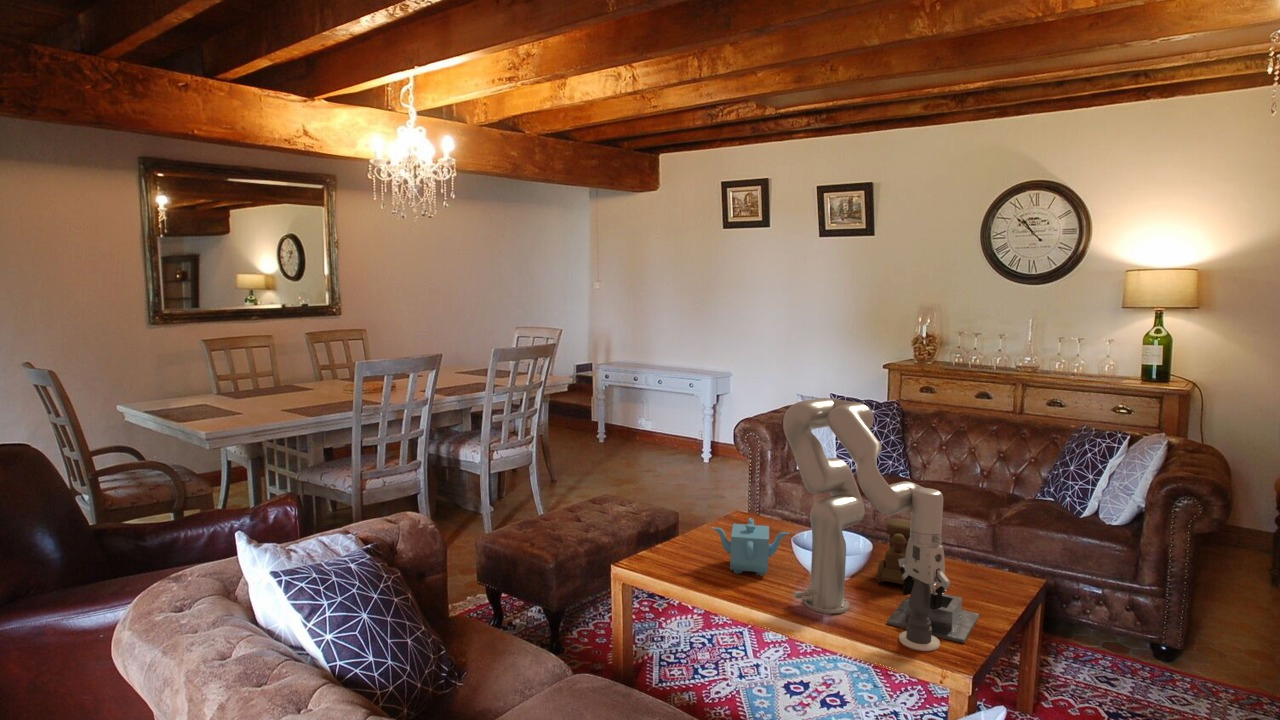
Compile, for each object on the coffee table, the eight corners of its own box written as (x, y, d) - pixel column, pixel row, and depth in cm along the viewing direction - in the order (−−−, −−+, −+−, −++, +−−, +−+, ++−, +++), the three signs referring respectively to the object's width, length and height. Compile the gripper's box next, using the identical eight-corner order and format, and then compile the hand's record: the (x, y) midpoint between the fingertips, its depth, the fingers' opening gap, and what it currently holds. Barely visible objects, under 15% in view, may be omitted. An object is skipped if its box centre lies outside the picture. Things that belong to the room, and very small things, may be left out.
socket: (964, 643, 205) (965, 621, 204) (886, 623, 216) (887, 602, 215) (978, 617, 221) (980, 596, 221) (906, 600, 232) (907, 580, 232)
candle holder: (904, 640, 204) (909, 547, 202) (908, 631, 210) (913, 540, 207) (929, 646, 201) (935, 551, 199) (932, 636, 207) (938, 544, 204)
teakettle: (748, 584, 242) (750, 537, 241) (708, 565, 257) (709, 521, 256) (790, 571, 254) (792, 527, 252) (749, 554, 268) (751, 512, 267)
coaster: (910, 652, 200) (910, 649, 200) (892, 634, 209) (892, 631, 209) (947, 650, 201) (947, 647, 201) (927, 632, 211) (927, 629, 211)
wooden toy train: (887, 565, 260) (890, 516, 259) (923, 572, 255) (926, 522, 253) (874, 585, 243) (877, 533, 241) (912, 593, 238) (915, 540, 236)
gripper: (962, 546, 196) (958, 612, 198) (912, 525, 212) (909, 587, 214) (939, 549, 193) (935, 616, 195) (890, 528, 209) (887, 590, 211)
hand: (921, 601), depth 204 cm, fingers open, 9 cm apart
